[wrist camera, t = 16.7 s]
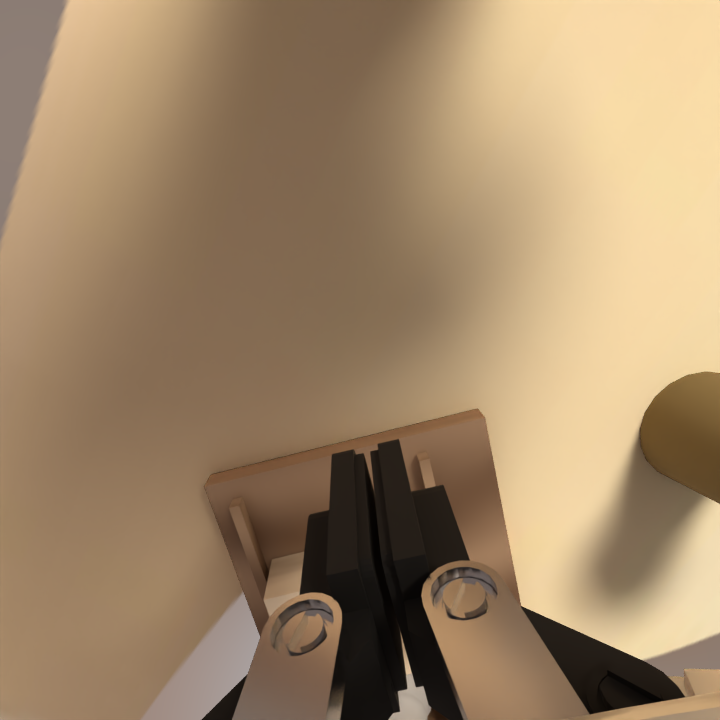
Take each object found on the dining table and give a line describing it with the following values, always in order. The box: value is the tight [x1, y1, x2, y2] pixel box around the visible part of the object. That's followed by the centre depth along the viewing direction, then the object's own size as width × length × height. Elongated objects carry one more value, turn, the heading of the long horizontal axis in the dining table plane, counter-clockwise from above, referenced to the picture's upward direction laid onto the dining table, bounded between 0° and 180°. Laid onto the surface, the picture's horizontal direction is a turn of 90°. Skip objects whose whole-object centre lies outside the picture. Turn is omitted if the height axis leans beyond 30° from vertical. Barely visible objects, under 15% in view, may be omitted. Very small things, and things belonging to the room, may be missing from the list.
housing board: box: [204, 409, 521, 720], centre depth 25 cm, size 20×14×3 cm
